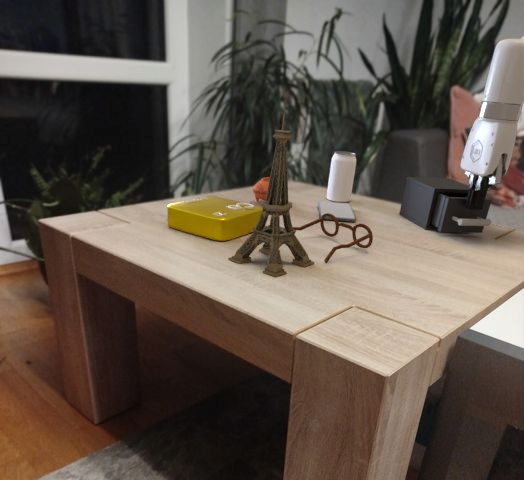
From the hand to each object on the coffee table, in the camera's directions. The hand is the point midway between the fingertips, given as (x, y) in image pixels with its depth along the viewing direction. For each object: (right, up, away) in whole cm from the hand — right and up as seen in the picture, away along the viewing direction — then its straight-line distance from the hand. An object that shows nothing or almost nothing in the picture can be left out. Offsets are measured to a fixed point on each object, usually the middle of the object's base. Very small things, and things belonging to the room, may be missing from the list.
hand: (473, 208), depth 106 cm
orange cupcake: (-44, +7, +20) cm, 48 cm away
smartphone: (-27, +3, +15) cm, 31 cm away
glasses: (-33, -11, -10) cm, 36 cm away
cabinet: (-3, +1, +15) cm, 15 cm away
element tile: (-54, -5, -3) cm, 55 cm away
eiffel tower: (-43, -15, -20) cm, 50 cm away
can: (-24, +10, +29) cm, 39 cm away
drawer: (-2, -2, +8) cm, 8 cm away
